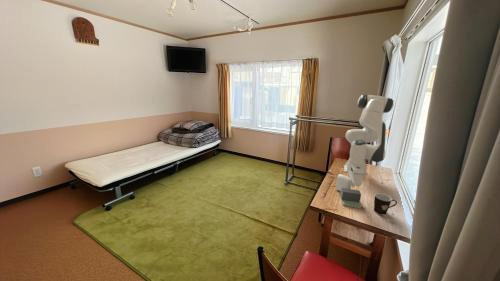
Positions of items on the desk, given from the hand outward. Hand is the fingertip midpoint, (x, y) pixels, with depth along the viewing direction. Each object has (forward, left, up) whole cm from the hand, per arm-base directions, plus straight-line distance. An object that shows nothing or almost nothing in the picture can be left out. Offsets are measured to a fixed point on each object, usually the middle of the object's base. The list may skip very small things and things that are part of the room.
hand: (352, 185), depth 127 cm
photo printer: (-12, -3, -11) cm, 17 cm away
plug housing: (0, 0, -10) cm, 10 cm away
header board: (0, 0, -11) cm, 11 cm away
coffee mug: (+8, +17, -11) cm, 22 cm away
